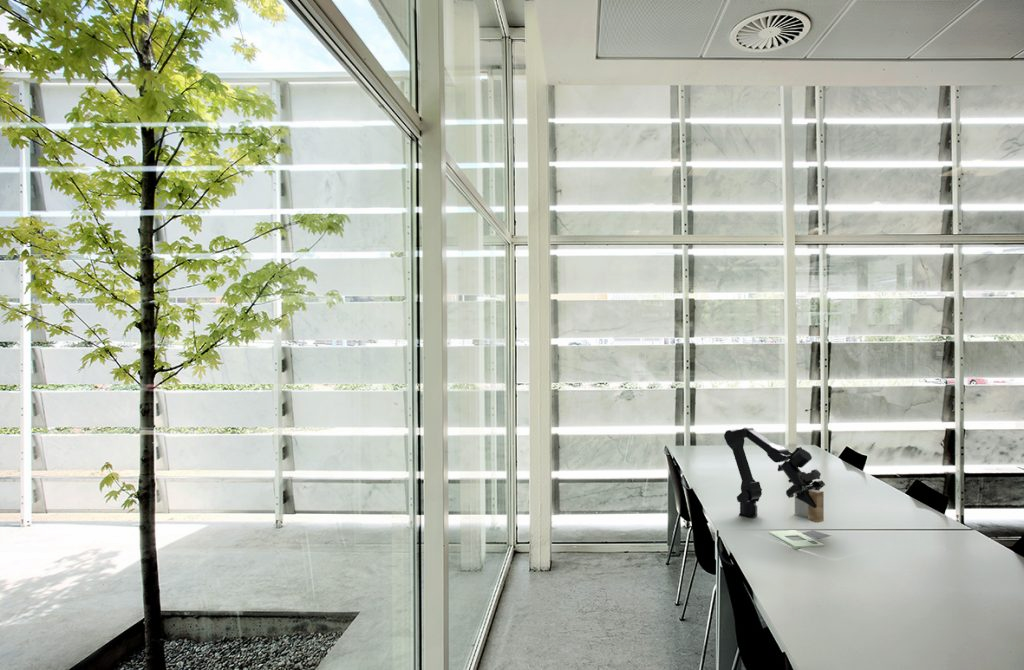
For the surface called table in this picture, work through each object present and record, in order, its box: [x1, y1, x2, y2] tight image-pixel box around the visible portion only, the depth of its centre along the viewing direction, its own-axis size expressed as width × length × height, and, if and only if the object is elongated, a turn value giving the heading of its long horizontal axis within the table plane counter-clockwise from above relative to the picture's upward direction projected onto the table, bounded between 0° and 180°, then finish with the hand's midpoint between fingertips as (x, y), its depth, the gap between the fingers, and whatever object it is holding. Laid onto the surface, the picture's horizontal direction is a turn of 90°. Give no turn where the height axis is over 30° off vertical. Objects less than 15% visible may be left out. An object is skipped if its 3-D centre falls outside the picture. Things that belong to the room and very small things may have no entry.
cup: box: [794, 493, 808, 518], centre depth 275 cm, size 8×8×10 cm
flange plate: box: [768, 529, 825, 550], centre depth 241 cm, size 18×12×1 cm, turn 9°
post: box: [807, 490, 825, 524], centre depth 247 cm, size 4×4×12 cm
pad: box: [801, 529, 832, 540], centre depth 247 cm, size 8×8×1 cm
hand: (819, 506), depth 246 cm, fingers closed on post, 4 cm apart
